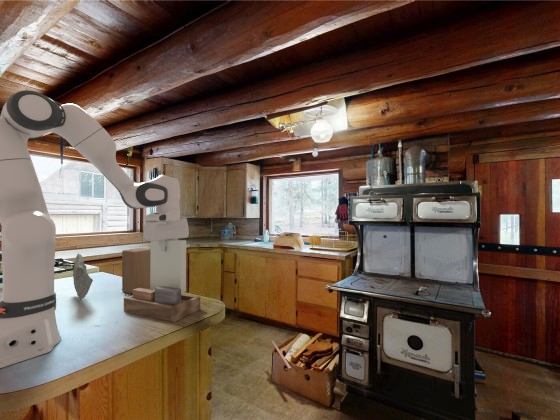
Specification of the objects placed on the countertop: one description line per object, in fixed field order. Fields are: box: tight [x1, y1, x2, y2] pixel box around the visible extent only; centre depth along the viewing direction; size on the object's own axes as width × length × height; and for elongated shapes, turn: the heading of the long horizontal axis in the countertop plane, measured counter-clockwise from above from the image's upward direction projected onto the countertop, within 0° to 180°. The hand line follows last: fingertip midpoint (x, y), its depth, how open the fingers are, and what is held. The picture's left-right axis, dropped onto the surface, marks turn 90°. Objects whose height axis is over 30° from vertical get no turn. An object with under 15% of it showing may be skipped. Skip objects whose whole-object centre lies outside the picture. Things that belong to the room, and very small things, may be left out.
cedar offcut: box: [132, 288, 155, 302], centre depth 109 cm, size 3×10×8 cm, turn 66°
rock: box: [72, 252, 94, 301], centre depth 122 cm, size 27×6×20 cm, turn 42°
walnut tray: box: [123, 289, 201, 323], centre depth 109 cm, size 14×26×5 cm, turn 66°
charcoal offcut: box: [155, 286, 182, 306], centre depth 104 cm, size 3×10×10 cm, turn 66°
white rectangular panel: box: [150, 239, 187, 294], centre depth 112 cm, size 3×16×20 cm, turn 66°
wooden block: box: [121, 247, 151, 295], centre depth 136 cm, size 10×10×20 cm
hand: (168, 250), depth 112 cm, fingers closed on white rectangular panel, 3 cm apart
